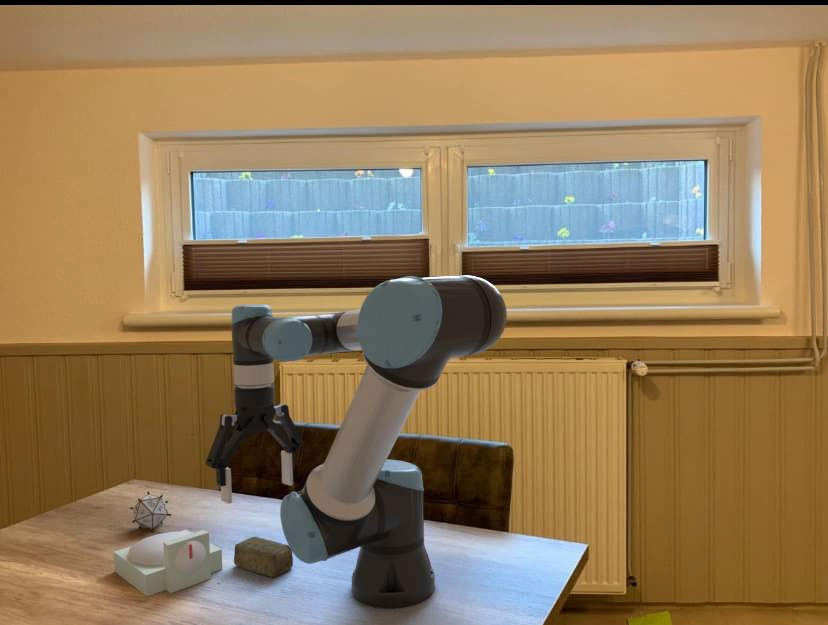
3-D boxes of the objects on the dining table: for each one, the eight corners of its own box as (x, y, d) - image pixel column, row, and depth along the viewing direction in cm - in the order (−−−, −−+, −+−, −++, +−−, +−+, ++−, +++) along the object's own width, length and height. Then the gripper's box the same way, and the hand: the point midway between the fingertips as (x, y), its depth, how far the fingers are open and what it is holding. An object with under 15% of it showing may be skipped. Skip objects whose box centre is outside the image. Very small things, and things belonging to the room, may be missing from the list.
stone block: (275, 581, 128) (274, 555, 127) (231, 568, 134) (230, 544, 133) (295, 568, 133) (294, 544, 132) (252, 557, 139) (251, 533, 138)
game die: (161, 542, 156) (185, 508, 155) (130, 542, 149) (155, 506, 148) (146, 515, 161) (169, 482, 160) (115, 514, 154) (139, 479, 153)
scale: (229, 573, 131) (227, 527, 130) (153, 601, 120) (150, 552, 120) (186, 547, 143) (184, 506, 143) (114, 571, 133) (112, 526, 132)
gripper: (296, 374, 142) (300, 473, 143) (183, 392, 124) (188, 504, 126) (318, 378, 136) (321, 481, 138) (203, 397, 119) (208, 515, 120)
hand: (258, 492), depth 132 cm, fingers open, 13 cm apart
